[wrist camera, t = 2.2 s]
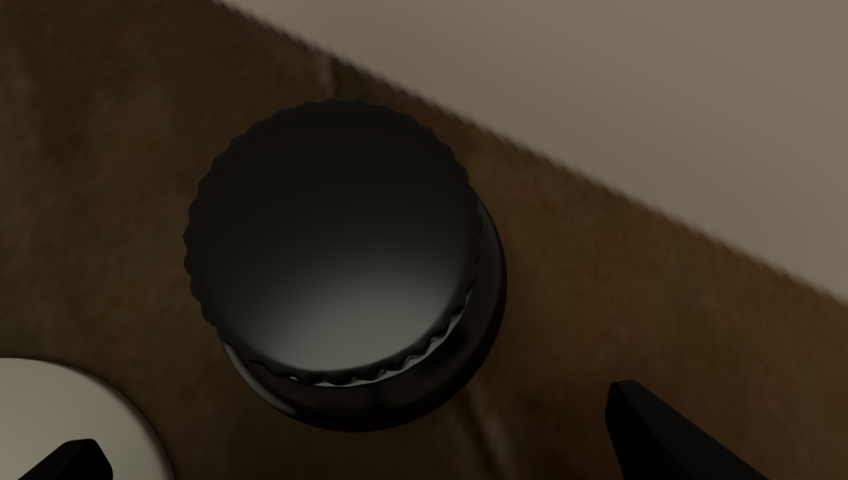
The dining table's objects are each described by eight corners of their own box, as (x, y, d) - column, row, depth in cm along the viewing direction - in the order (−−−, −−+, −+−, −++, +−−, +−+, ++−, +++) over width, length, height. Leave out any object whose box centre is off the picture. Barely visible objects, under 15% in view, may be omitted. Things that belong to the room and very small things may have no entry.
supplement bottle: (486, 394, 18) (597, 418, 7) (306, 424, 18) (108, 502, 7) (455, 224, 20) (502, 21, 9) (291, 248, 20) (116, 70, 8)
